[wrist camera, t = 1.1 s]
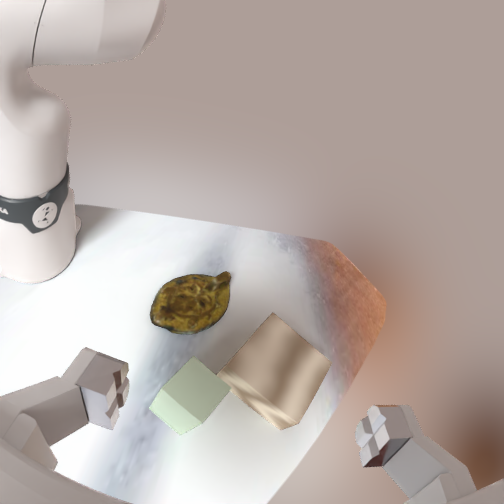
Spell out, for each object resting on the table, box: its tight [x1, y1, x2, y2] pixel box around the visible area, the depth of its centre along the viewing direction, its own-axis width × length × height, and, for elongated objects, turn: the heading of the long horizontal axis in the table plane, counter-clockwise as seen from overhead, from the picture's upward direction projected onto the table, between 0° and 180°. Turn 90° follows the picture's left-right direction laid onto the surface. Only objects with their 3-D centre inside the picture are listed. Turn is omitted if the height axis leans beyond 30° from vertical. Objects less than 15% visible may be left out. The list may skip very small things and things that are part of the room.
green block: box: [149, 356, 231, 435], centre depth 29 cm, size 5×5×10 cm
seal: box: [150, 271, 231, 334], centre depth 43 cm, size 9×5×15 cm
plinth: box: [217, 313, 332, 430], centre depth 40 cm, size 12×12×5 cm
